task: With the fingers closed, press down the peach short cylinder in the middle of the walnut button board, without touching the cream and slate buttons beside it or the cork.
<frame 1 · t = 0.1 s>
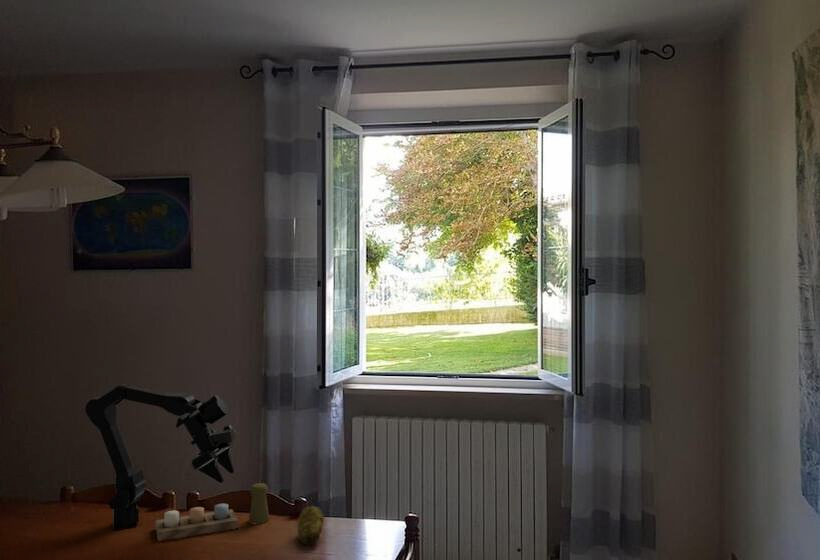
hand: (227, 477, 193), 15 cm above the table, tool tilted 30°, fingers open, 9 cm apart
cream button: (171, 519, 189), point 4 cm above the table, slide at 0.0 cm
slate button: (221, 512, 195), point 4 cm above the table, slide at 0.0 cm
cork: (259, 521, 199), on the table
button board: (196, 528, 192), on the table
potato: (310, 539, 185), on the table
peach short cylinder: (196, 516, 192), point 4 cm above the table, slide at 0.0 cm
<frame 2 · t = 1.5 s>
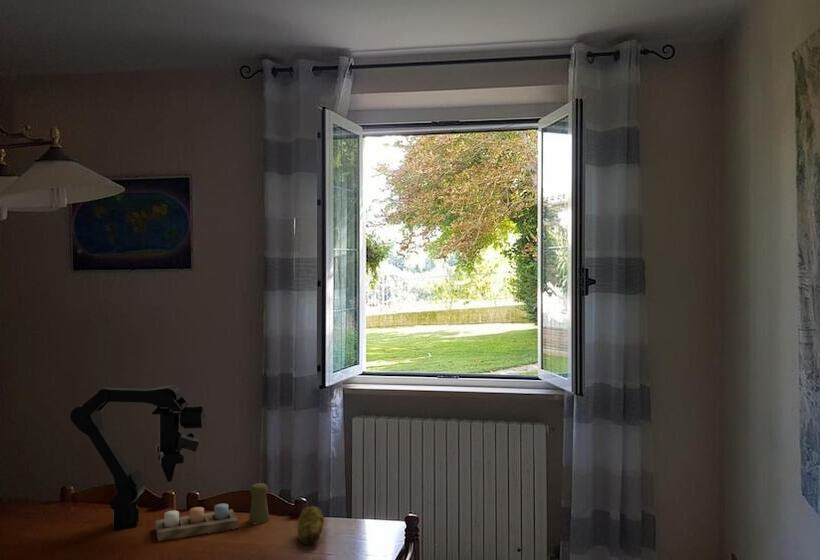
hand: (169, 480, 195), 13 cm above the table, tool pointing down, fingers closed
nothing on the table moved.
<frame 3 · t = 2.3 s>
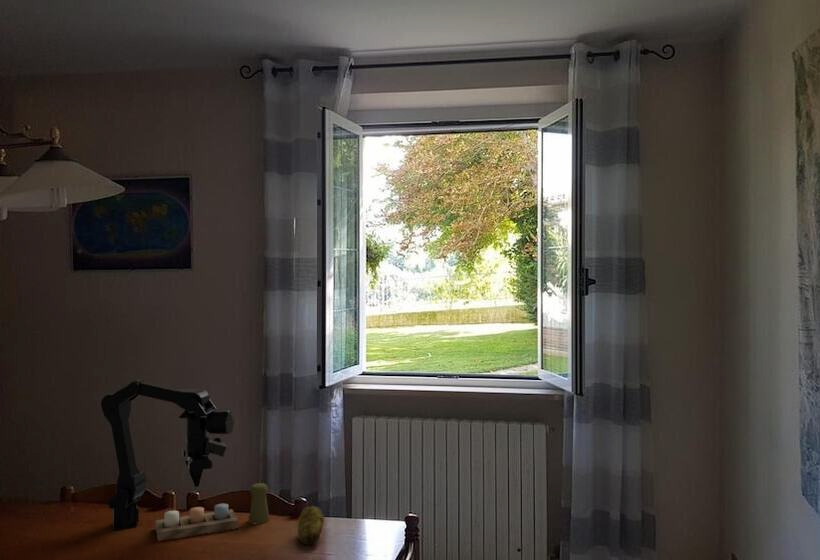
hand: (196, 486, 192), 12 cm above the table, tool pointing down, fingers closed
nothing on the table moved.
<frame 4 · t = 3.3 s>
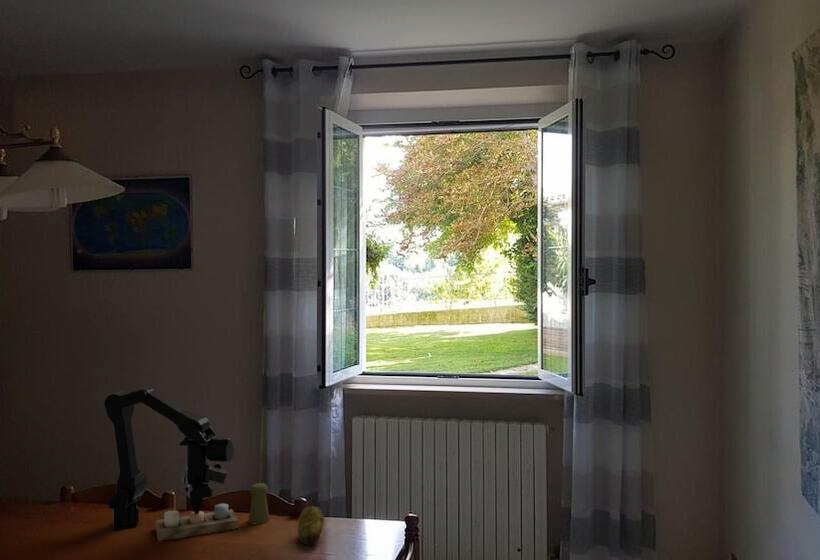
hand: (196, 513, 192), 4 cm above the table, tool pointing down, fingers closed, pressing on peach short cylinder
peach short cylinder: (196, 520, 192), point 2 cm above the table, slide at 1.2 cm, touching gripper
everything else where it was.
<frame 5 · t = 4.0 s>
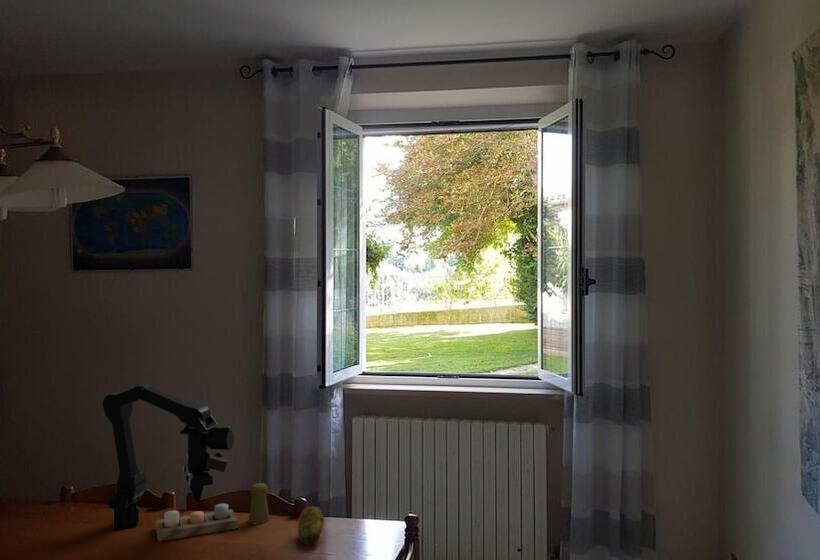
hand: (197, 502, 192), 8 cm above the table, tool pointing down, fingers closed
peach short cylinder: (196, 520, 192), point 2 cm above the table, slide at 1.3 cm
everything else where it was.
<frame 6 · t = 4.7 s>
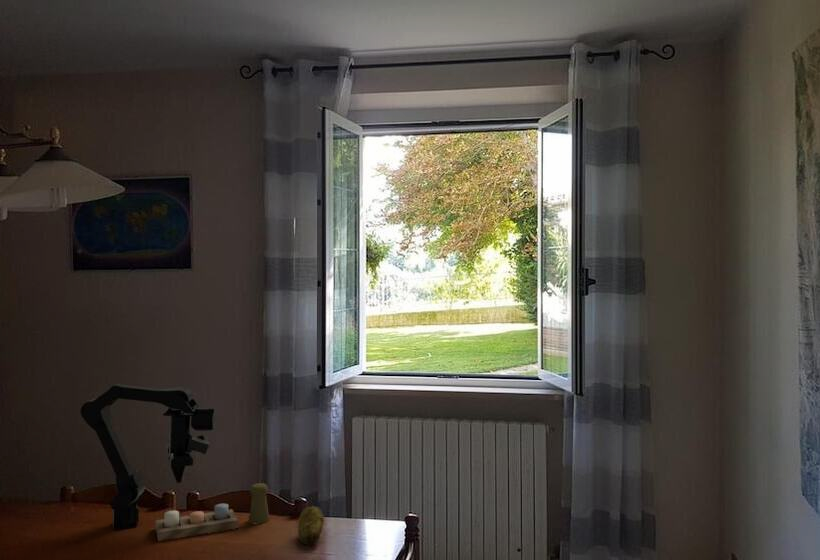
hand: (178, 482, 196), 12 cm above the table, tool pointing down, fingers closed
nothing on the table moved.
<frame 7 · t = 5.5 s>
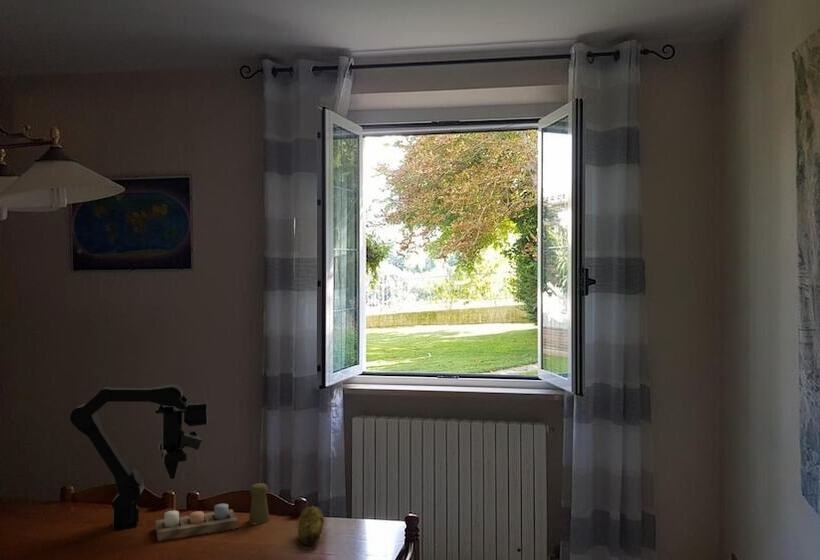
hand: (172, 478, 198), 13 cm above the table, tool pointing down, fingers closed
nothing on the table moved.
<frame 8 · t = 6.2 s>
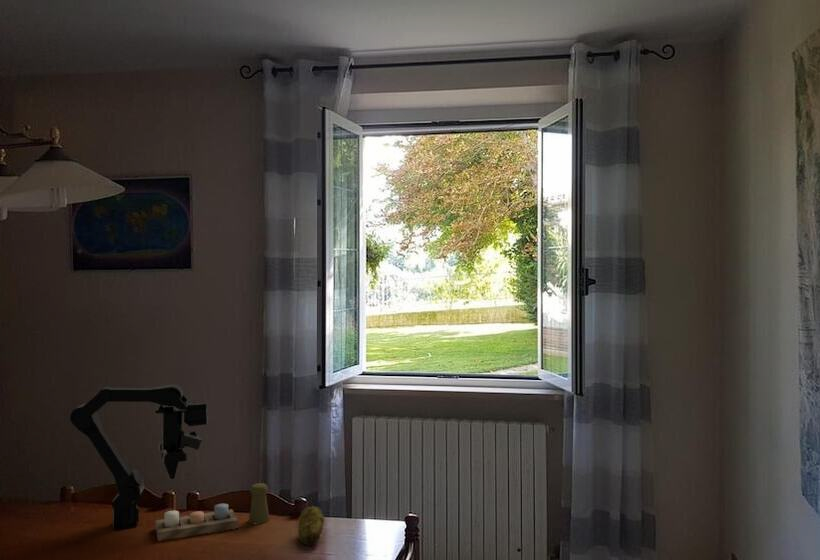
hand: (172, 478, 198), 13 cm above the table, tool pointing down, fingers closed
nothing on the table moved.
at the end: peach short cylinder slide at 1.3 cm; cream button slide at 0.0 cm; slate button slide at 0.0 cm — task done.
